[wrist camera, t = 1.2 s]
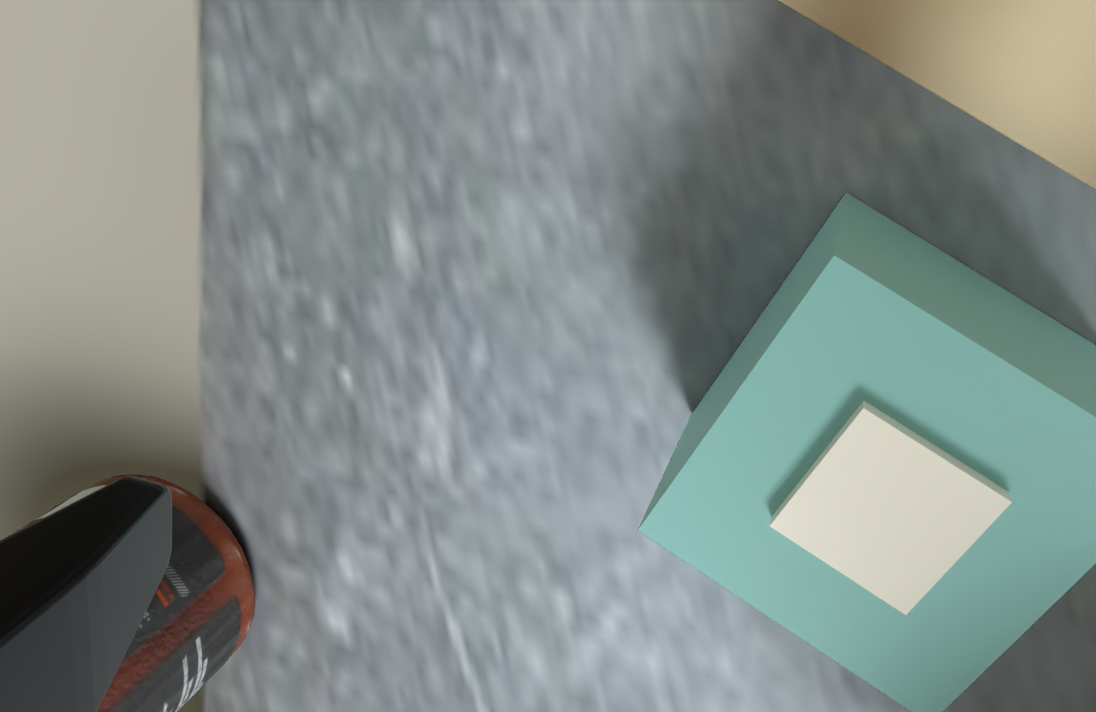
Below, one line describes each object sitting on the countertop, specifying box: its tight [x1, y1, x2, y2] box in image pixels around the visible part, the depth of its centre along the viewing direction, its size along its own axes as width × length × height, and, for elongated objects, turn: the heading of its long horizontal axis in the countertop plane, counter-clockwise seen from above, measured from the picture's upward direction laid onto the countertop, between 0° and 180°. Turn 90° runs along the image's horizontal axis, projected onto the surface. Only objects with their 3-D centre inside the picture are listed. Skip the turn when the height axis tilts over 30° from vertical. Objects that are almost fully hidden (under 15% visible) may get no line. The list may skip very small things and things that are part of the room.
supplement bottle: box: [11, 475, 255, 712], centre depth 22 cm, size 6×6×11 cm
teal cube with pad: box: [638, 192, 1096, 712], centre depth 17 cm, size 6×6×5 cm
